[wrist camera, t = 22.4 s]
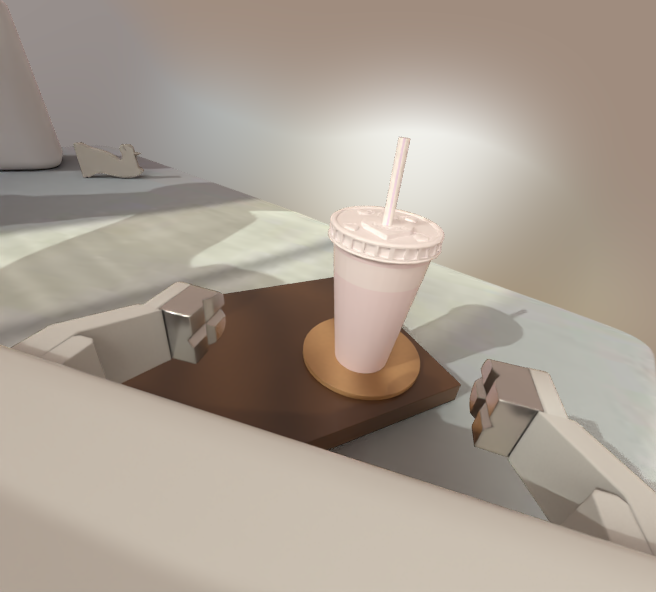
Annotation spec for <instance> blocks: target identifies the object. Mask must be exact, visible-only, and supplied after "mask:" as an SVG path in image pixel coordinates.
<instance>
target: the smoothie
mask: <svg viewBox="0 0 656 592" xmlns="http://www.w3.org/2000/svg"><path fill="white" fill-rule="evenodd" d="M409 143H410V138H404V137H399V138H398V143H397V149H396V154H395V159H394V164H393V169H392V174H391V180H390V185H389V190H388V195H387V200H386V206H385V207H379V206H353V207H347V208H343V209H340V210H338V211H336V212H335V213H333V214H332V216H331V220H330V228H329V231H328V236H329V238H330V240H331V241H332V242H333V243H334V262H333V266H334V324H335V356H336V358H337V360H338V362H339V363H340V364H341V365H342V366H344V367H345V368H347V369H349V370H351V371H354V372H357V373H374V372H377V371H379V370H381V369H382V368H383V367H384V366H385V364H386V362H387V360H388V358H389V355H390V353H391V351H392V348H393V346H394V344H395V342H396V339H397V337H398V335H399V332H400V330H401V328H402V326H403V323H404V321H405V319H406V317H407V314H408V312H409V310H410V307H411V305H412V303H413V301H414V298H415V296H416V294H417V291H418V289H419V287H420V285H421V283H422V281H423V278H424V276H425V274H426V271H427V269H428V266H429V264H430V262H431V260H433V259H435V258H437V257H438V255H439V254H440V253H441V246H442V242H443V240H444V232H443V231H442V229H441V228H440V227H439V226H438V225H437V224H435V223H434V222H432V221H431V220H429V219H427V218H425V217H422V216H419V215H417V214H414V213H410V212H407V211H403V210H399V209H396V205H397V200H398V196H399V190H400V186H401V181H402V177H403V172H404V167H405V162H406V157H407V153H408V148H409Z"/></svg>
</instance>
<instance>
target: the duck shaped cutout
mask: <svg viewBox="0 0 656 592" xmlns="http://www.w3.org/2000/svg"><path fill="white" fill-rule="evenodd" d="M74 148H75V151H76V154H77V158H78V161H79V164H80V168H81V171H82V175H83V177H91V176H92V175H94V174H100V173H101V174H103V173H104V174H105V173H106V175H107V174H108V175H110V176H112V175H113V176H114V175H115V177H117V176H118V178H119V177H120V178H124V177H125V178H126V177H127V178H129V177H130V178H131V177H133V178H134V176H135V177H136V176H138V175H139V176H140V174H142V173H143V171H144V170H143V168H141V167H139V164H138V161H137V158H136V156H137V155H139V154H141V153H138V152H135V151H134V147H133V146H131V145H130V144H125V145H124V144H122V145H120V148H119V149H120V151H121V153H122V159H119V158H118V157H116V156H115V155H113V154H111V153H109V152H107V151H104V150H101V149H97V148H92V147H90V146H88V145H86V144H84V143H82V142H80V143H74ZM122 176H123V177H122Z"/></svg>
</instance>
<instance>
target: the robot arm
mask: <svg viewBox="0 0 656 592" xmlns="http://www.w3.org/2000/svg"><path fill="white" fill-rule="evenodd" d="M224 304H225V302H224V295H223V294H222V293H221V292H218V291H214V290H211V289H207V288H203V287H200V286H196V285H192V284H188V283H184V282H175V283H174V284H172V285H171V286H170V287H168V288H167V289H165V290H164V291H162V292H161V293H159V294H158V295H156V296H155V297H153V298H152V299H150V300H149V301H147V302H146V303H145V304H143V305H141V304H135V305H131V306H127V307H123V308H119V309H114V310H110V311H106V312H102V313H98V314H94V315H89V316H85V317H81V318H77V319H73V320H68V321H64V322H60V323H56V324H52V325H49V326H48V327H46V328H44V329H42V330H41V331H39V332H37V333H35V334H34V335H32V336H30V337H28V338H27V339H25V340H23V341H21V342H20V343H18V344H16V345H14V346H13V347H11V348H9V347H5V346H2V345H0V592H656V492H655V491H654V490H653V489H651V488H650V487H649V486H648V485H647V484H646V483H645V482H644V481H643V480H641V479H640V478H639V477H638V476H637V475H636V474H635V473H634V472H632V471H631V470H630V469H629V468H628V467H627V466H626V465H625V464H623V463H622V462H621V461H620V460H619V459H618V458H617V457H616V456H614V455H613V454H612V453H611V452H610V451H609V450H608V449H607V448H605V447H604V446H603V445H602V444H601V443H600V442H599V441H598V440H596V439H595V438H594V437H593V436H592V435H591V434H590V433H589V432H587V431H586V430H585V429H584V428H583V427H582V426H581V425H580V424H578V423H577V422H576V421H574V420H570V419H569V418H568V416H567V413H566V411H565V409H564V406H563V404H562V402H561V399H560V397H559V395H558V392H557V390H556V388H555V385H554V383H553V381H552V379H551V376H550V374H548V373H547V372H545V371H541V370H536V369H532V368H527V367H526V368H525V367H520V366H516V365H512V364H508V363H504V362H500V361H495V360H491V359H487V360H486V361H485V362H484V364H483V366H482V368H481V373H482V378H480V379H478V380H476V381H475V383H474V385H473V388H472V391H471V395H470V413H471V415H472V416H473V417H474V418H475V420H474V422H473V424H472V433H473V441H474V447H477V448H480V449H483V450H486V451H489V452H492V453H495V454H498V455H502V456H505V457H508V461H509V462H510V464H511V465H512V467H513V468H514V470H515V471H516V472H517V474H518V475H519V477H520V478H521V480H522V481H523V483H524V484H525V486H526V487H527V489H528V490H529V492H530V493H531V495H532V496H533V498H534V499H535V501H536V502H537V504H538V505H539V507H540V508H541V510H542V511H543V513H544V514H545V516H546V517H547V518H548V520H549V521H550V522H548V521H545V520H542V519H539V518H536V517H533V516H529V515H526V514H523V513H520V512H517V511H514V510H511V509H508V508H505V507H502V506H498V505H495V504H492V503H489V502H486V501H483V500H480V499H477V498H474V497H471V496H467V495H464V494H461V493H458V492H455V491H452V490H449V489H446V488H443V487H440V486H436V485H433V484H430V483H427V482H424V481H421V480H418V479H415V478H412V477H409V476H405V475H402V474H399V473H396V472H393V471H390V470H387V469H384V468H381V467H378V466H374V465H371V464H368V463H365V462H362V461H359V460H356V459H353V458H350V457H347V456H343V455H340V454H337V453H334V452H331V451H328V450H325V449H322V448H319V447H316V446H313V445H309V444H306V443H303V442H300V441H297V440H294V439H291V438H288V437H285V436H282V435H278V434H275V433H272V432H269V431H266V430H263V429H260V428H257V427H254V426H251V425H247V424H244V423H241V422H238V421H235V420H232V419H229V418H226V417H223V416H219V415H216V414H213V413H210V412H207V411H204V410H201V409H198V408H195V407H191V406H188V405H185V404H182V403H179V402H176V401H173V400H170V399H167V398H163V397H160V396H157V395H154V394H151V393H148V392H145V391H142V390H139V389H136V388H133V387H129V386H126V385H123V384H121V383H123V382H125V381H127V380H129V379H131V378H133V377H136V376H138V375H140V374H142V373H144V372H146V371H148V370H150V369H152V368H154V367H156V366H158V365H161V364H163V363H165V362H167V361H169V360H171V358H174V359H177V360H181V361H185V362H189V363H193V364H197V363H198V362H199V361H200V359H201V358H202V357H203V356H204V355H205V354H206V353H207V352H208V345H210V344H213V343H216V342H217V341H218V340H219V339H220V337H221V336H222V334H223V332H224V330H225V325H226V315H225V314H224V312H223V311H222V309H221V308H222V307H223V306H224Z"/></svg>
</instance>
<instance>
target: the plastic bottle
mask: <svg viewBox="0 0 656 592" xmlns="http://www.w3.org/2000/svg"><path fill="white" fill-rule="evenodd" d="M62 155H63V151H62V148H61V146H60V143H59V140H58V138H57V135H56V133H55V130H54V127H53V125H52V122H51V119H50V117H49V114H48V112H47V109H46V107H45V104H44V101H43V98H42V96H41V93H40V90H39V88H38V85H37V83H36V80H35V77H34V75H33V72H32V70H31V67H30V64H29V62H28V59H27V56H26V54H25V51H24V48H23V46H22V43H21V41H20V38H19V35H18V33H17V30H16V27H15V25H14V22H13V20H12V17H11V14H10V12H9V9H8V7H7V5H6V4H5V3H4V2H3V1H2V0H0V170H33V169H47V168H53V167H56V166H58V165H59V164H60V163H61V161H62Z"/></svg>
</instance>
